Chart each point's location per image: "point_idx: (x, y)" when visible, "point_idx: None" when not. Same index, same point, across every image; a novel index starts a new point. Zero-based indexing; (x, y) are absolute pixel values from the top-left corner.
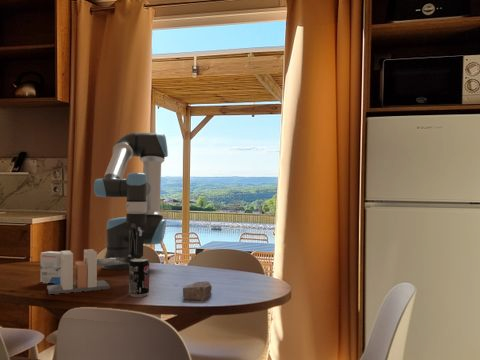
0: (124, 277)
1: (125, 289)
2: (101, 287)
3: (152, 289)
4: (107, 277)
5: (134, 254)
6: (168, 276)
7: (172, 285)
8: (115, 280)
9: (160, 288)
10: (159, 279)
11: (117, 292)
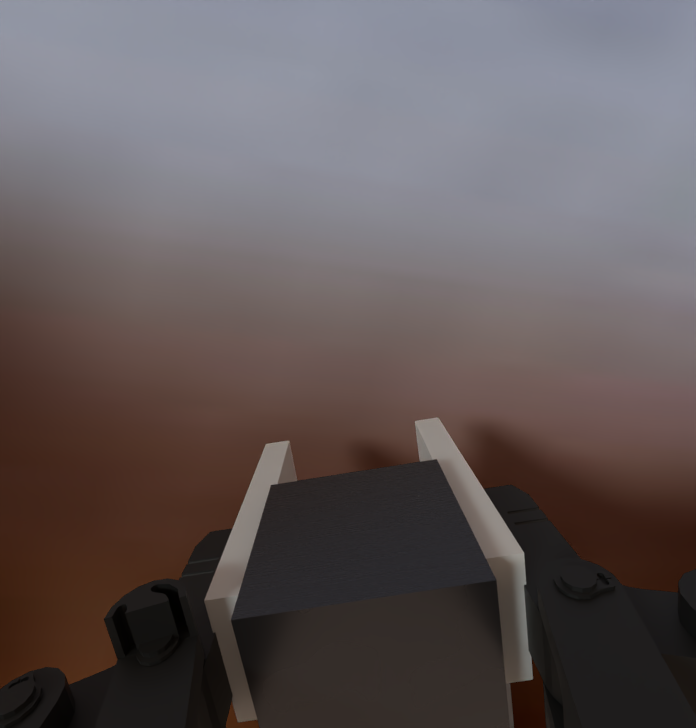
0: (54, 501)
1: (569, 521)
2: (508, 690)
3: (678, 308)
4: (27, 632)
5: (379, 714)
6: (86, 16)
7: (602, 73)
8: (179, 577)
9: (675, 228)
10: (242, 165)
11: (643, 579)
